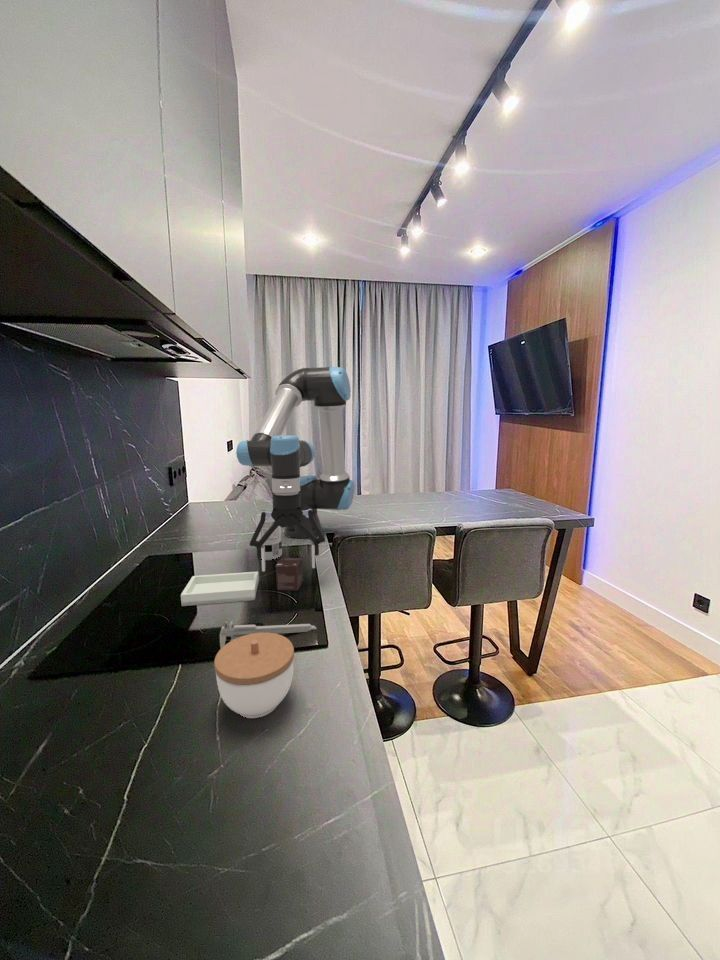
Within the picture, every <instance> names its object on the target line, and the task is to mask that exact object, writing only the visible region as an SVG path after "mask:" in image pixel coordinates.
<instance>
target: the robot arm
mask: <svg viewBox="0 0 720 960" xmlns="http://www.w3.org/2000/svg"><path fill="white" fill-rule="evenodd" d="M274 393H275V397H274V399H273V400H272V403H271V404H270V405H269V407H268V409H267V411H266V414H265V415H264V416H263V418H262V420H261V421H260V423H259V425H258V427H257V429H256V431H255V432H254V433H253V435H252V438H251V439H250V440H248V439H246V440H241V441H239V442H238V444H237V447H236V453H235V454H236V458H237V460H238V461H237V462H239V464H241V465H242V466H247V467H271V468H270V469H271V491H272V493H273V494H272V499H271V500H272V510H271V511H272V512H267V511H266V510H265V509H264V510H262V511H261V512H262V513H261V512H260V513H261V520H260V522H259V524H258V526H257V528H256V527H255V530H254V533H253V535H252V537H251V539H250V542H249V546H250V547H255V548H256V559H257V560H261V559H262V560H261V572H266V560H265V545H263V544H264V543H265V541H266V540H267V539H268V538H269V536H270V535H271V534H272V533H273V532H274V530H275V529H276V528H277V527H278V526H280V527H281V528H284V535H285V534H286V535H287V536H290V537H289V538H291V537H296V538H295V539H309V540H310V541H311V545H310V547H311V568H312V569H316V556H319V554H320V552H319V551H320V549H319V548H320V545H319V544H321V543H325V541H326V539H325V536H324V534H323V526H322V523H321V520H320V517H319V515H318V510H336V511H343V510H348V509H350V507H351V505H352V504H353V499H354V496H355V495H354V494H355V486H356V485H355V481H354V480H353V479H350V474H349V473H348V472H347V471H346V460H345V445H344V444H345V439H344V438H345V437H344V421H343V420H344V419H343V418H344V417H343V415H344V414H343V409H344V408H345V407H346V406H347V401H349V400H350V398H351V383H350V378H349V375H348V373H347V372H346V370H345V369H344V368H343V367H338V366H327V367H326V366H325V367H322V366H321V367H303V368H299V369H296V370H294V371H293V372H291V373H290V374H288V375H287V376H286V377H285V378H283V380H281V382H280V383H279V384H278V385H277V388H276V389H275V392H274ZM306 401H309V402H311V401H312V402H314V407H315V409H317V410H318V416H319V428H320V430H319V432H320V445H321V446H320V448H321V457H322V458H321V460H322V473H321V474H320V475H319V479H318V477H317V476H316V475H312V474H311V475H302V476H301V468H302V467H306V466H308V465H309V464H311V463H312V462H313V460H314V458H315V454H316V451H315V448H314V445H312V443H310V442H309V441H307V440H303V439H301V440H300V439H299V436H297V435H295V434H294V435H293V434H291V435H288V434H285V435H283V433H284V431H285V429H286V427H287V425H288V423H289V421H290V419H291V418H292V417H291V416H293V415H292V414H293V413H294V410H295V408H297V407H299V406H300V405H301V403H302V402H306ZM270 516H271V517H272V518H273V519H274V520H275V521H274V523H273V524H272V525H271V527H270V528H269V529H268V530H267V531H266V533H265V534H264V535H263V536H262V538H261V539H260V540H259V541H257V537H258V535H259V533H260V531H261V529H262V527H263V525H264V523H265V520H267V519H268V518H269V517H270ZM286 535H285V536H286ZM317 535H318V536H317ZM287 536H286V537H287ZM307 537H308V538H307Z"/></svg>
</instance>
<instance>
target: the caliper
mask: <svg viewBox="0 0 720 960" xmlns="http://www.w3.org/2000/svg"><path fill="white" fill-rule="evenodd" d="M312 630H317V627H316V626H315V625H312V624H311V623H300V624H295V623H294V624H280V625H279V624H278V625H277V624H275V625H274V624H273V625H256V624H236V625H235V624H234V622H233V620H231V621H230V622H229V623H228V622H227V620H225V623H224V626H221V628H220V631H219V647H220V649H221V648H222V647H223V646H225V645H226V641H227V637H230V641H232V640H234V639H236V638H239V637H241V636H244V635H248V634H253V633H266V632H267V633H275V634H279V635H281V634H294V633H297V634H298V633H306V632H310V631H312ZM230 641H229V642H230Z"/></svg>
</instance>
